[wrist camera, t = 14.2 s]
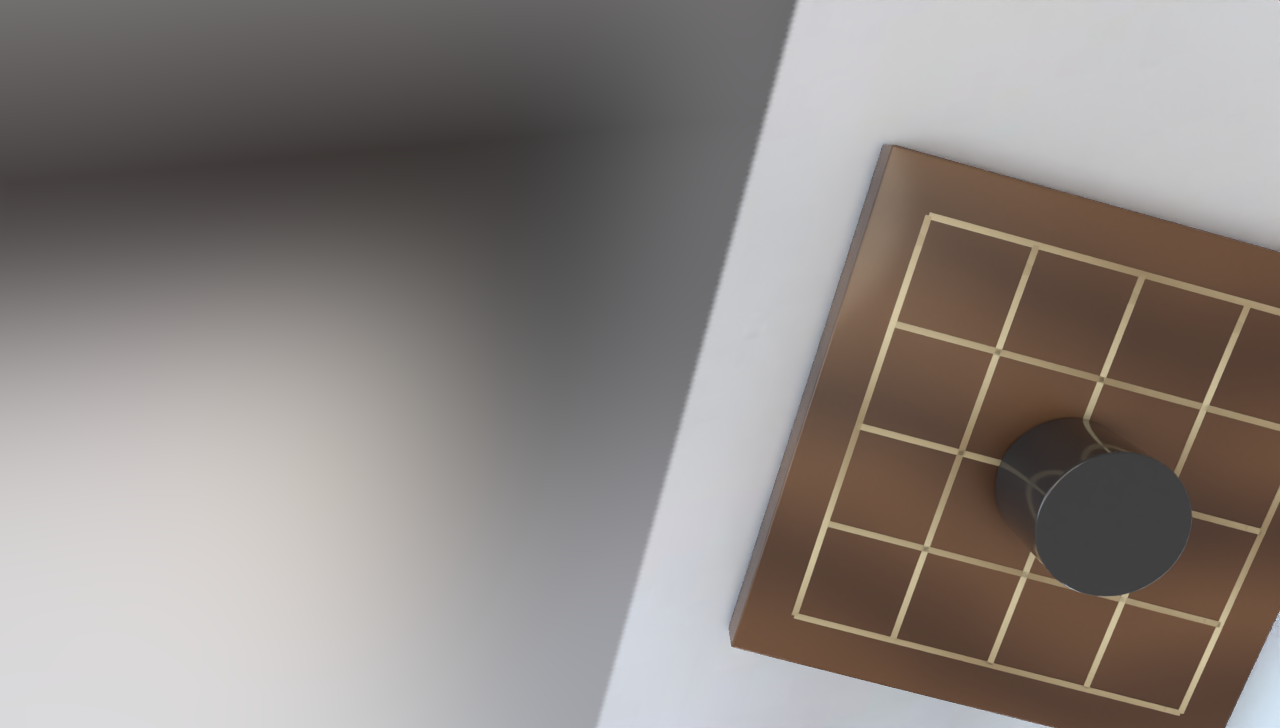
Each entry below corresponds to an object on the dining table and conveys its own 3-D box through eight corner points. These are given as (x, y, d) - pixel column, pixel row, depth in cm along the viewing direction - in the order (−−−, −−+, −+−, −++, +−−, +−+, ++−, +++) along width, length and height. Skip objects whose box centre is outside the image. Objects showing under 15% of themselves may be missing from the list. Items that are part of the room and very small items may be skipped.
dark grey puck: (966, 472, 36) (1005, 513, 32) (1085, 389, 35) (1139, 421, 31) (1043, 573, 37) (1089, 625, 33) (1160, 494, 36) (1222, 538, 32)
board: (882, 143, 35) (892, 144, 33) (1396, 286, 35) (1429, 293, 34) (728, 628, 39) (730, 647, 38) (1187, 744, 40) (1208, 767, 39)
